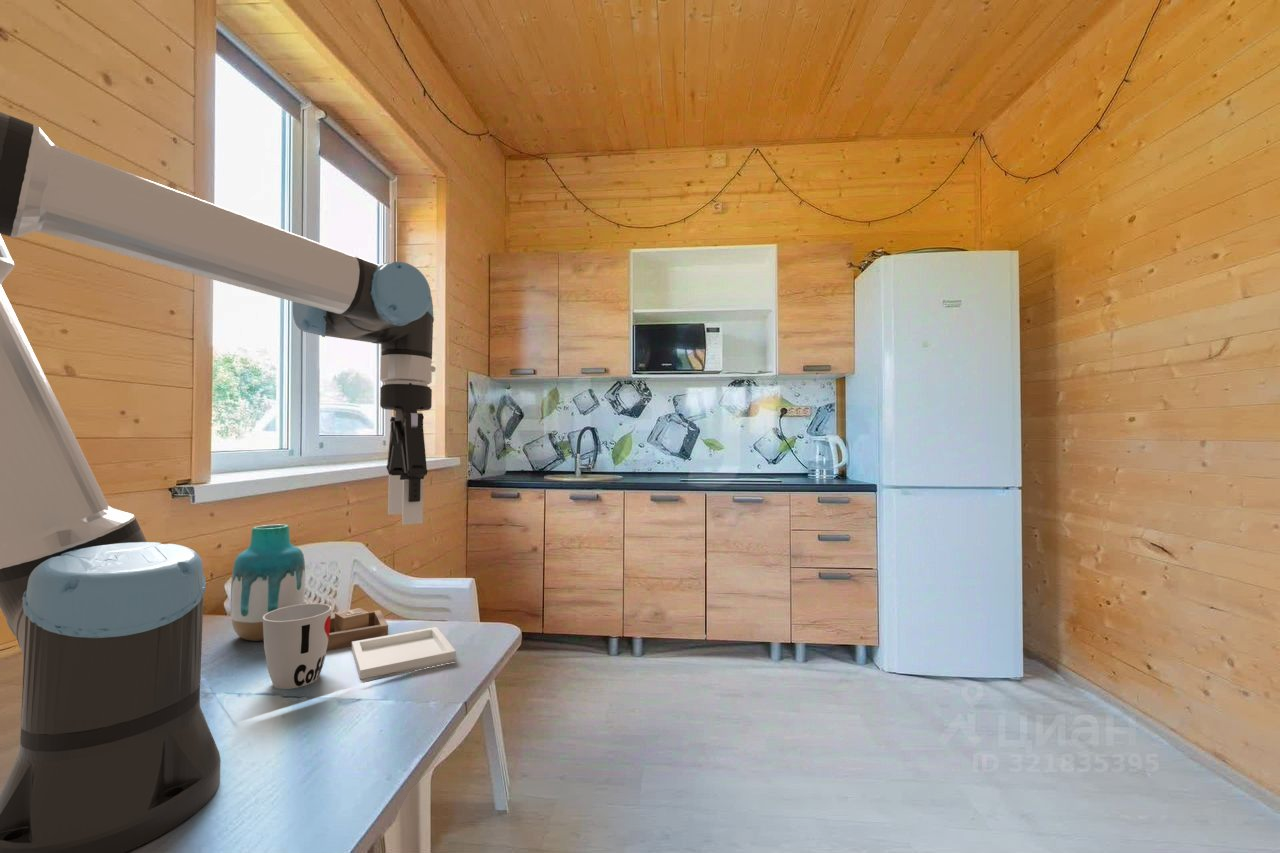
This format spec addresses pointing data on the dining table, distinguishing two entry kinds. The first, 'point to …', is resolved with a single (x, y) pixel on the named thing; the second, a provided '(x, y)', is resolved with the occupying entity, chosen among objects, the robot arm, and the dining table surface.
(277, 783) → the dining table surface
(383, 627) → the brown wooden tray
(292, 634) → the cup
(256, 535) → the vase
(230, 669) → the dining table surface
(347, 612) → the letter cube
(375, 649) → the tray
